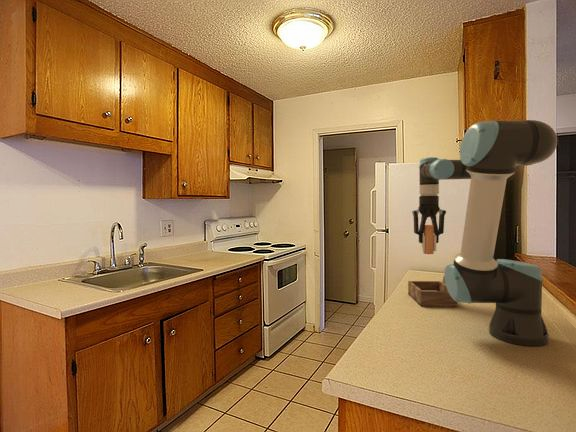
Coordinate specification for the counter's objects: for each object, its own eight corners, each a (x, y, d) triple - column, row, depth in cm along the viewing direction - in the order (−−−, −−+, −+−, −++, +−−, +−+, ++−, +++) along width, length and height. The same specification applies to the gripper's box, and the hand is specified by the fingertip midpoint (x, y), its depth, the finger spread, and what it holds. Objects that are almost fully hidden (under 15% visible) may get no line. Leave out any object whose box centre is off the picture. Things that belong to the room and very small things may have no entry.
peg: (435, 254, 140) (435, 225, 139) (425, 254, 140) (425, 225, 139) (431, 252, 144) (431, 224, 143) (421, 252, 144) (422, 224, 143)
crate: (457, 306, 133) (457, 291, 133) (420, 306, 134) (420, 291, 134) (440, 294, 151) (440, 281, 151) (408, 294, 152) (408, 281, 152)
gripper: (446, 194, 144) (445, 249, 145) (405, 195, 145) (405, 249, 146) (453, 194, 136) (453, 252, 137) (410, 195, 137) (410, 252, 138)
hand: (428, 250), depth 142 cm, fingers closed on peg, 4 cm apart
